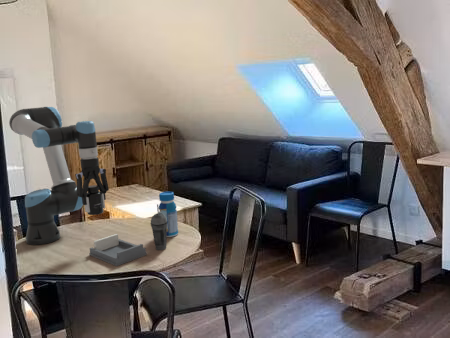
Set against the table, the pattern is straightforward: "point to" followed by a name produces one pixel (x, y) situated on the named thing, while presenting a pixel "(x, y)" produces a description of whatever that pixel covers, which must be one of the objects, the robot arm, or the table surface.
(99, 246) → the plate
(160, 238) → the beverage cup
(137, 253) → the pusher lane
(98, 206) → the supplement bottle
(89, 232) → the table surface
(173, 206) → the beverage bottle
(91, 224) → the table surface
